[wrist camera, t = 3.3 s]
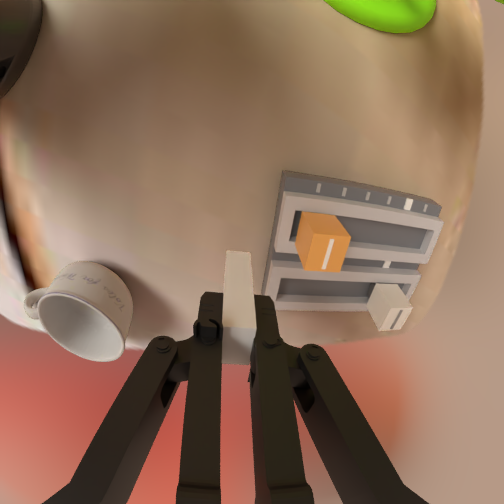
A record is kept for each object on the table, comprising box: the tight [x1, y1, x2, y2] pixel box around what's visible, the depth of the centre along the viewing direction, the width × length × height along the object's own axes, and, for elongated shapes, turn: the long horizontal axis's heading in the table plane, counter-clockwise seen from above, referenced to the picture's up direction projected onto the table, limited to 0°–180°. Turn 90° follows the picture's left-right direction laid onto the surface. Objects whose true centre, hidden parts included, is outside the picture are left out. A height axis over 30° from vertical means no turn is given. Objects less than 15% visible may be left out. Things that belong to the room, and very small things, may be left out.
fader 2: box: [366, 282, 413, 331], centre depth 27 cm, size 3×3×5 cm
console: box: [261, 171, 444, 311], centre depth 28 cm, size 14×18×3 cm
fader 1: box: [295, 211, 351, 273], centre depth 23 cm, size 3×3×5 cm
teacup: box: [24, 261, 133, 362], centre depth 26 cm, size 14×11×8 cm
